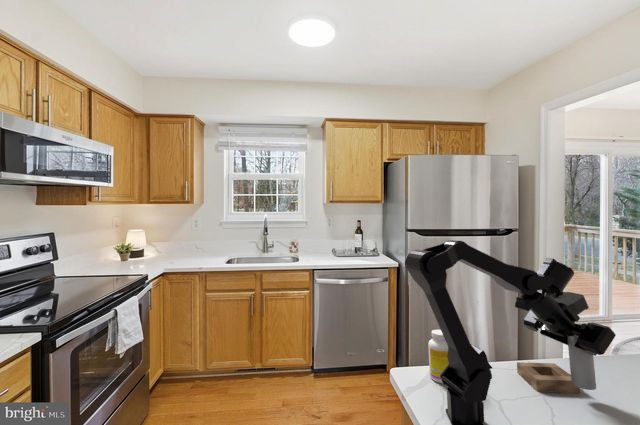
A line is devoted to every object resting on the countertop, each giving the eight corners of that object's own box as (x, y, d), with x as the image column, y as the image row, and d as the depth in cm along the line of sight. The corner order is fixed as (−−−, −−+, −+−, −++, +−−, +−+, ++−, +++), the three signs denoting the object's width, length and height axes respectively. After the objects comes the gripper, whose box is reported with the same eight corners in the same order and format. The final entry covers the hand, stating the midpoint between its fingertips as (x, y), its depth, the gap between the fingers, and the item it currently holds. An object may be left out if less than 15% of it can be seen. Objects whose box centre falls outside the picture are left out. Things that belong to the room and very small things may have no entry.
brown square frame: (536, 391, 79) (536, 379, 79) (517, 372, 89) (516, 362, 89) (579, 393, 77) (579, 381, 78) (555, 374, 87) (554, 363, 88)
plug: (575, 388, 73) (569, 327, 74) (568, 379, 78) (563, 322, 79) (600, 391, 71) (594, 329, 73) (591, 382, 76) (586, 324, 77)
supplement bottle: (457, 385, 83) (455, 336, 83) (431, 383, 84) (429, 335, 85) (452, 373, 89) (450, 328, 90) (428, 372, 91) (426, 327, 91)
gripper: (605, 289, 66) (648, 337, 68) (530, 276, 84) (565, 314, 86) (578, 330, 64) (623, 378, 66) (506, 307, 82) (543, 345, 84)
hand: (585, 350), depth 75 cm, fingers closed on plug, 5 cm apart
